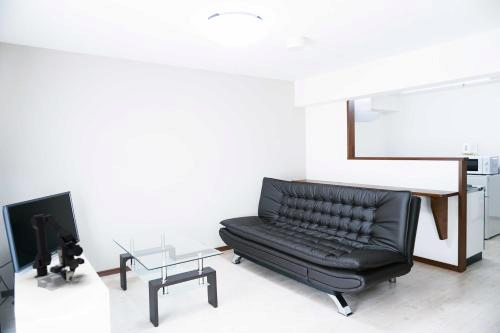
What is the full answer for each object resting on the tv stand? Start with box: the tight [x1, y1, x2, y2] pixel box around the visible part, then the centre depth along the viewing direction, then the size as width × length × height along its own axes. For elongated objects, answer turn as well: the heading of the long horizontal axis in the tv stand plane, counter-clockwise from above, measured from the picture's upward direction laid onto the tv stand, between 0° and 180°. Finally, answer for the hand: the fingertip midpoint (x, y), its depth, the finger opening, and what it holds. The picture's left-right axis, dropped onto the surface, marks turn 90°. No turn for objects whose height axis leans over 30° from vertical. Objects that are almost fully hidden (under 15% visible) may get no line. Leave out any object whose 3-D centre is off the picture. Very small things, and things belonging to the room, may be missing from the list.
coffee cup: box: [56, 243, 68, 266], centre depth 231 cm, size 9×9×15 cm
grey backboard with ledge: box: [36, 268, 81, 292], centre depth 202 cm, size 14×18×6 cm
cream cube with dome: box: [61, 269, 75, 281], centre depth 205 cm, size 9×4×4 cm, turn 61°
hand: (68, 278), depth 205 cm, fingers closed on cream cube with dome, 4 cm apart
